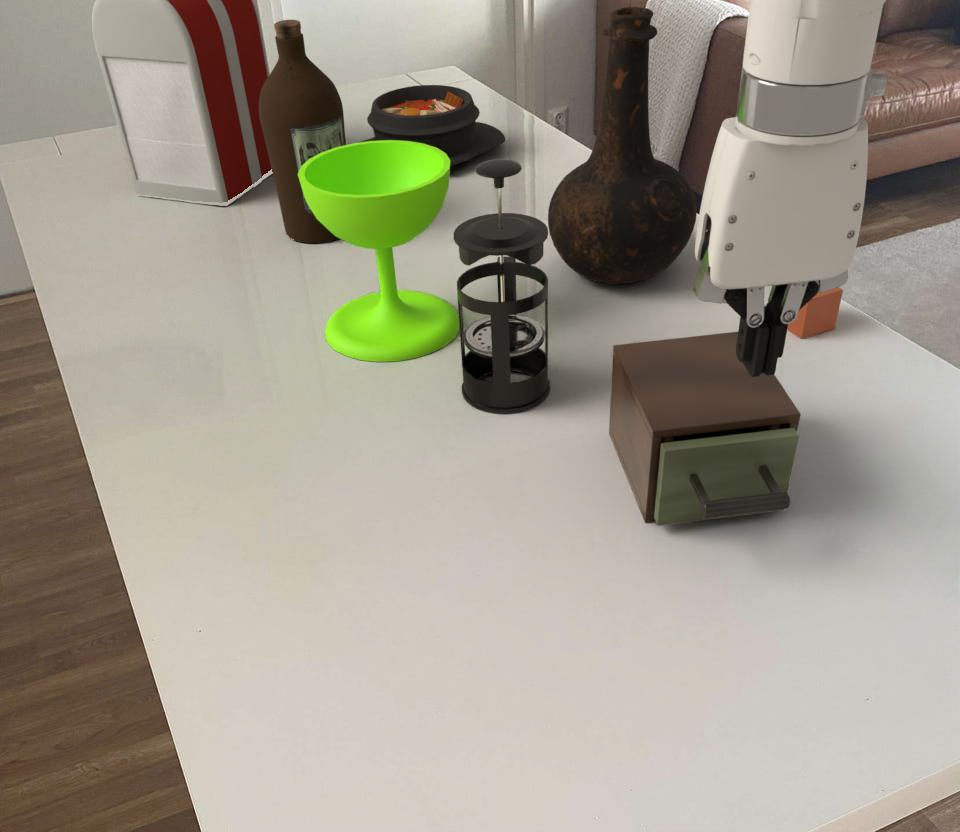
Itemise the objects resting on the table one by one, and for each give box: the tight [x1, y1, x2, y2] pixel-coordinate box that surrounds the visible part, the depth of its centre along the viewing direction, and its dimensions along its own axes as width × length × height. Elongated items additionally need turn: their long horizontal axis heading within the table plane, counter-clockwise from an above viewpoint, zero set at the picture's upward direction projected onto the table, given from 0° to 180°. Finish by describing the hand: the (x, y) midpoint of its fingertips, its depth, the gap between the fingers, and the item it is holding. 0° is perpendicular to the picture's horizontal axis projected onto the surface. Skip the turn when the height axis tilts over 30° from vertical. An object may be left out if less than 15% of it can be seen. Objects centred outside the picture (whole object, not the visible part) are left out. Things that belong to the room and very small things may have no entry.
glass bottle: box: [547, 6, 698, 285], centre depth 116 cm, size 18×18×28 cm
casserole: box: [357, 84, 506, 167], centre depth 153 cm, size 25×19×8 cm
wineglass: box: [298, 140, 460, 363], centre depth 111 cm, size 16×16×18 cm
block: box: [787, 287, 844, 340], centre depth 112 cm, size 5×5×5 cm
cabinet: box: [608, 331, 802, 524], centre depth 92 cm, size 15×13×10 cm
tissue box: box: [91, 0, 272, 203], centre depth 144 cm, size 16×18×27 cm
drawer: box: [654, 424, 800, 527], centre depth 88 cm, size 19×11×8 cm, turn 8°
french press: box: [453, 158, 551, 414], centre depth 99 cm, size 12×9×23 cm
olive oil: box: [259, 19, 347, 244], centre depth 130 cm, size 11×11×25 cm
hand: (756, 366), depth 75 cm, fingers closed
